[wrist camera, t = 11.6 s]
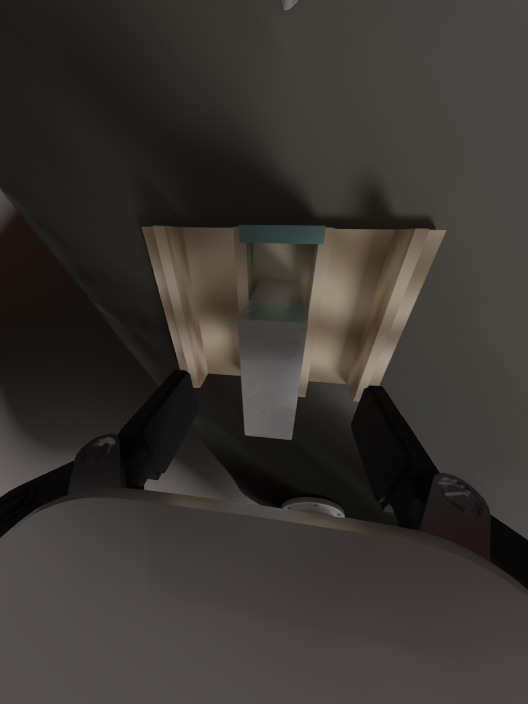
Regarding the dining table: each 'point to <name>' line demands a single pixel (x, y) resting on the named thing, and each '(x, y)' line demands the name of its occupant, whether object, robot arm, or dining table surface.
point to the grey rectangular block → (272, 357)
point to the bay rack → (316, 288)
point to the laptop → (288, 4)
